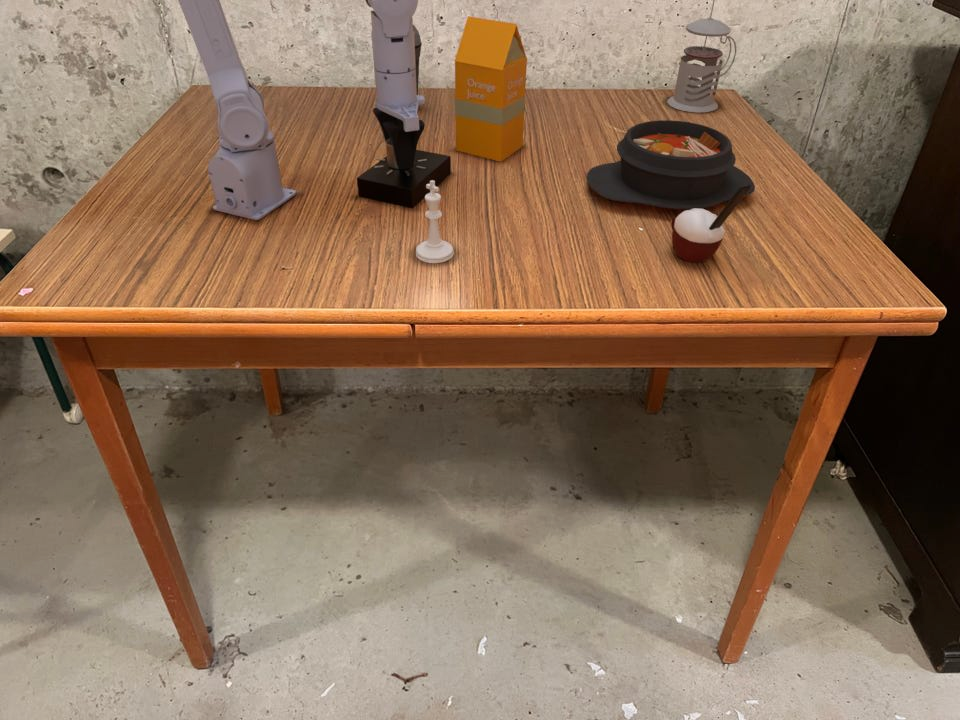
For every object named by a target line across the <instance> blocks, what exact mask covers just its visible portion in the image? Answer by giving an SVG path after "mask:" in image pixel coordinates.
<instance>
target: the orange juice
mask: <svg viewBox="0 0 960 720" xmlns="http://www.w3.org/2000/svg"><path fill="white" fill-rule="evenodd" d="M527 63H528V56H527V54H526V52H525V48H524V45H523V41H522V38H521V35H520V32H519V29H518V24H517V23H514V22H513V23H512V22H507V21H500V20H494V19H489V18H488V19H487V18H482V17H475V16H468V15H467V17H466V21H465V24H464V28H463V31H462V35H461V38H460V41H459V44H458V48H457V51H456V55H455V58H454V116H455V151H457V152H460V153H465V154H468V155H472V156H476V157H479V158H484V159H488V160H493V161H496V162H500V163H501V162H502V161H504V160H505V159H507V158H509V157H510V156H511V155H513V154H514V153H516V152H518V150H520V149H521V148H523V144H524V143H523V141H524V140H523V139H524V124H525V122H524V121H525V109H526V108H525V107H526V86H527V85H526V84H527V65H528V64H527Z"/></svg>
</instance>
